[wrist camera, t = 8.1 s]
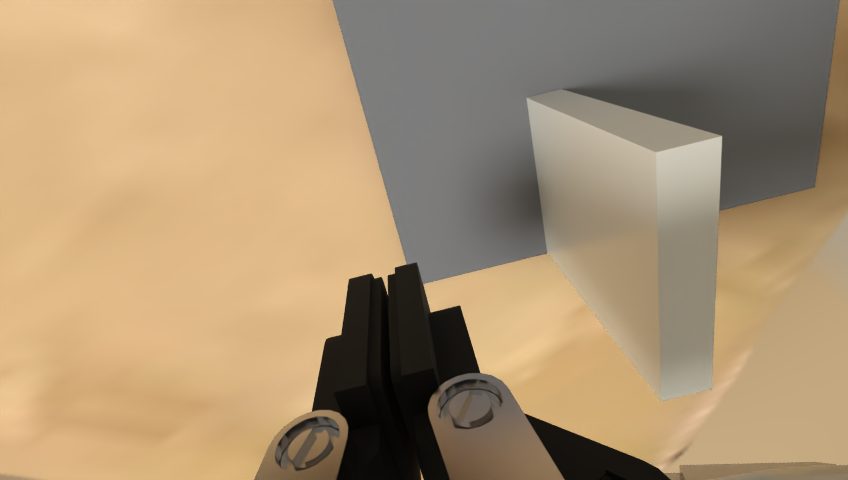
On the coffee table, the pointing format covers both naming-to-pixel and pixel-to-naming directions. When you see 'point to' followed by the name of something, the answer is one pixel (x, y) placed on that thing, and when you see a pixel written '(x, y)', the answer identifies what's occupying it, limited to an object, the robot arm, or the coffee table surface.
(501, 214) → the mat
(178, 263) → the coffee table surface
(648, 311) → the tile
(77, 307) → the coffee table surface
